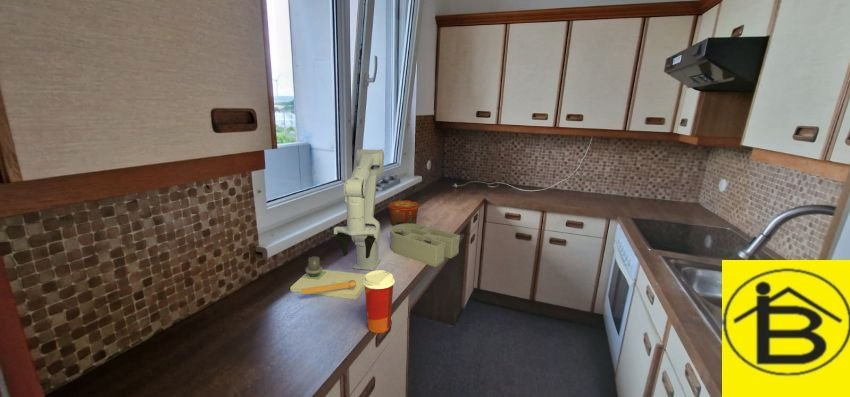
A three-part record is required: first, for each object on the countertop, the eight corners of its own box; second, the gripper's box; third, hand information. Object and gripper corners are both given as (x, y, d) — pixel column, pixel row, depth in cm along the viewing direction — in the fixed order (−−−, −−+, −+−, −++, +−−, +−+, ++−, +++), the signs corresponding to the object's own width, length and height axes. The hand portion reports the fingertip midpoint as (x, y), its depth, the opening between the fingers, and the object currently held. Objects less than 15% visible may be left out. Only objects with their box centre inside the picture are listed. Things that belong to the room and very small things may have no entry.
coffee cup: (379, 314, 102) (379, 266, 98) (400, 326, 96) (401, 275, 93) (357, 327, 95) (356, 276, 92) (378, 340, 90) (377, 287, 86)
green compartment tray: (435, 268, 133) (436, 247, 130) (381, 249, 149) (381, 230, 147) (459, 255, 145) (460, 235, 143) (407, 239, 162) (407, 221, 160)
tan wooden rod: (301, 291, 107) (301, 287, 107) (355, 283, 113) (355, 279, 113) (302, 295, 105) (302, 291, 105) (356, 287, 111) (356, 283, 111)
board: (311, 272, 126) (311, 266, 125) (370, 278, 122) (370, 272, 122) (290, 291, 113) (290, 284, 112) (356, 299, 109) (356, 292, 108)
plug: (310, 270, 123) (309, 254, 122) (325, 272, 123) (325, 256, 121) (302, 277, 118) (302, 260, 117) (318, 279, 117) (318, 262, 116)
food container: (421, 220, 189) (421, 200, 186) (416, 229, 174) (416, 208, 171) (391, 218, 191) (392, 198, 188) (384, 227, 176) (384, 206, 173)
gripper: (329, 218, 110) (330, 258, 113) (374, 221, 107) (374, 263, 110) (338, 211, 116) (339, 250, 120) (380, 215, 114) (380, 254, 117)
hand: (356, 256), depth 115 cm, fingers open, 7 cm apart
